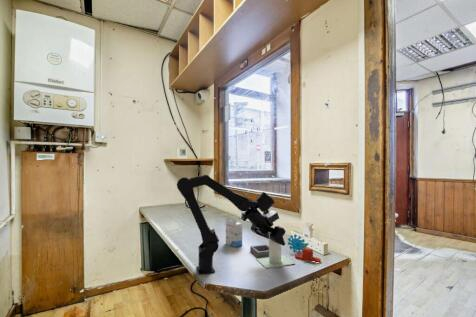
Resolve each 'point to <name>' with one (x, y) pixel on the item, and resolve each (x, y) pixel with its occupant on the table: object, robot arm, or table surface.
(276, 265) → the pad
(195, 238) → the table surface
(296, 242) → the gear
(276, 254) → the cylinder
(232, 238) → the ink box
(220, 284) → the table surface
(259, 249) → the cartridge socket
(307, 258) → the bracket
